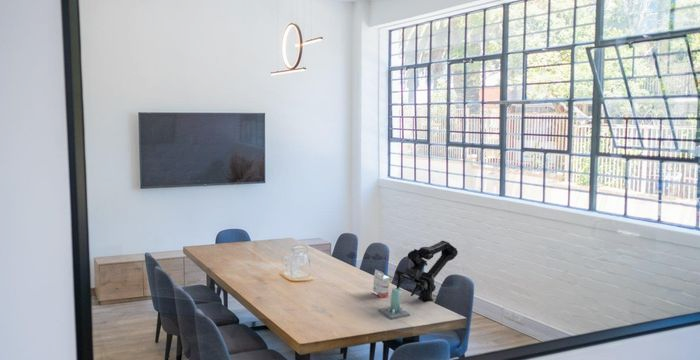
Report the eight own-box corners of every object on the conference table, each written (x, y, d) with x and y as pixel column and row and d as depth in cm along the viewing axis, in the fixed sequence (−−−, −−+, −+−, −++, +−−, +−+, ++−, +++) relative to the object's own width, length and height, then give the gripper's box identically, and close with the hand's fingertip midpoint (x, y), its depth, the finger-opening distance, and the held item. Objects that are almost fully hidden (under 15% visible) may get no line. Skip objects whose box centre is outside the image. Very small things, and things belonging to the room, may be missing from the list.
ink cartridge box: (388, 296, 355) (390, 272, 352) (381, 298, 352) (383, 273, 349) (378, 291, 361) (381, 267, 359) (372, 293, 359) (374, 268, 356)
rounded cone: (392, 308, 336) (394, 287, 334) (401, 311, 334) (403, 290, 331) (388, 311, 332) (390, 290, 330) (396, 313, 330) (398, 292, 327)
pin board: (397, 307, 341) (397, 301, 340) (410, 315, 331) (410, 309, 330) (378, 310, 335) (379, 304, 334) (391, 319, 325) (392, 312, 324)
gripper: (399, 256, 342) (385, 280, 336) (428, 268, 332) (414, 293, 327) (404, 264, 350) (391, 288, 345) (433, 276, 340) (420, 301, 335)
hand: (404, 292), depth 338 cm, fingers open, 9 cm apart
